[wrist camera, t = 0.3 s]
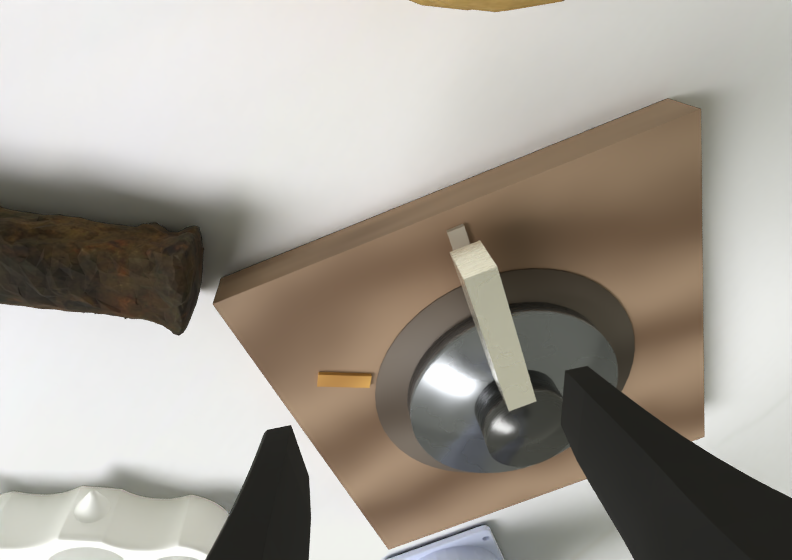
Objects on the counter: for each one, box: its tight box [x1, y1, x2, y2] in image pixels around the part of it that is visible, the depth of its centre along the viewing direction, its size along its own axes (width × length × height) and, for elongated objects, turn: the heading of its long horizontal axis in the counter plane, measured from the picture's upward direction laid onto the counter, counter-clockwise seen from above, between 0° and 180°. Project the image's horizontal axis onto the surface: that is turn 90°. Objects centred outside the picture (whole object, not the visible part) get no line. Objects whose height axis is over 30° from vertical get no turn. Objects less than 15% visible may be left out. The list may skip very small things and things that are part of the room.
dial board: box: [213, 98, 704, 549], centre depth 25 cm, size 20×20×2 cm
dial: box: [407, 240, 618, 473], centre depth 21 cm, size 14×10×3 cm
